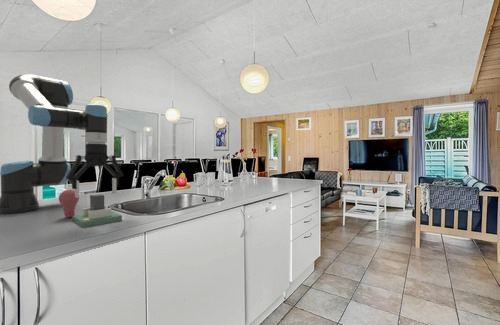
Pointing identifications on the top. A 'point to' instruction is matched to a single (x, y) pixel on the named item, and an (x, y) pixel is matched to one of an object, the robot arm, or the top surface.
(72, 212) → the light bulb
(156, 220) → the top surface
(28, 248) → the top surface
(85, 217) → the board
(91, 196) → the dark gray block
